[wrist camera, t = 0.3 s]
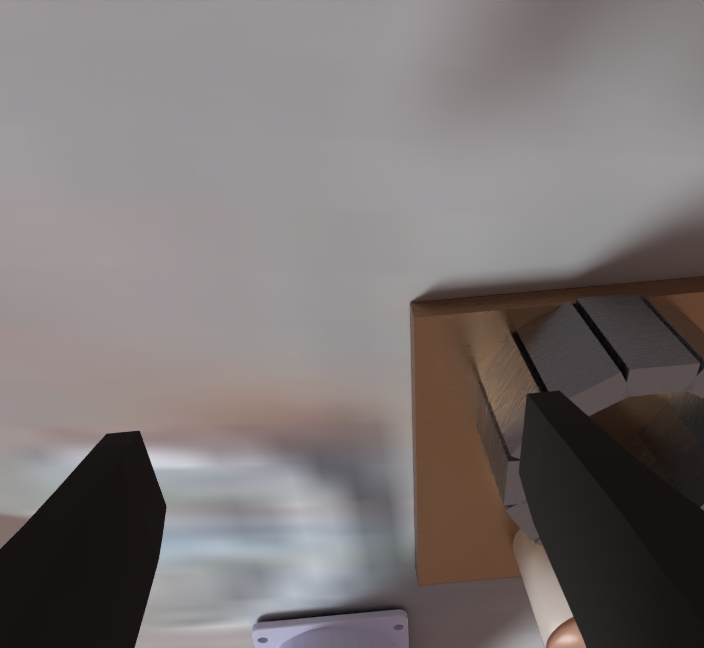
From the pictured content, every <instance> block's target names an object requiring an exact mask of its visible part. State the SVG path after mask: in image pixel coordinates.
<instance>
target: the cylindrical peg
mask: <svg viewBox="0 0 704 648" xmlns="http://www.w3.org/2000/svg"><path fill="white" fill-rule="evenodd" d="M513 552H514V555H515V558H516V561H517V564H518V567H519V570H520V573H521V576H522V579H523V582H524V585H525V588H526V591H527V594H528V597H529V600H530V603H531V606H532V609H533V612H534V615H535V618H536V621H537V624H538V627H539V630H540V633H541V636H542V639H543V643H544V646H545V648H586V646H585V643H584V640H583V638H582V635H581V633H580V631H579V628H578V626H577V624H576V621H575V619H574V617H573V614H572V612H571V610H570V608H569V605H568V603H567V601H566V598H565V596H564V594H563V591H562V589H561V587H560V584H559V582H558V580H557V577H556V575H555V573H554V570H553V568H552V566H551V564H550V561H549V559H548V556H547V554H546V552H545V549H544V547H543V546H540V545H537V544H535V542H534V540H532V541H530V540H529V539H528V537H527V536H526V535H525V534H524V533H523V531H522V530H521V529H519V530H518V532H517V533H516V535H515V537H514V540H513Z"/></svg>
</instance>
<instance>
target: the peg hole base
mask: <svg viewBox="0 0 704 648" xmlns="http://www.w3.org/2000/svg"><path fill="white" fill-rule="evenodd" d="M410 328H411V378H412V428H413V477H414V527H415V568H416V574H417V581H418V586H422V585H433V584H444V583H454V582H465V581H476V580H486V579H497V578H508V577H518V576H521V573H520V570H519V567H518V564H517V561H516V558H515V555H514V552H513V540H514V537H515V535H516V533H517V532H518V530H519V529H521V530H522V531H523V533H524V534H525V535H526V536H527V537H528V539H529V540H530V541H532V540H534V542H535V544H537V545H540V546H543V545H542V542H541V540H540V538H539V535H538V533H537V530H536V528H535V526H534V523H533V520H532V517H531V514H530V510H529V507H528V504H527V500H526V497H525V493H524V490H523V486H522V483H521V479H520V476H519V464H520V454H521V444H522V434H523V425H524V415H525V405H526V395H527V394H529V393H539V392H549V391H560V392H562V393H563V394H564V395H565V396H566V397H567V398H568V399H570V400H571V401H572V402H573V403H574V404H575V405H576V406H577V407H579V408H580V409H581V410H582V411H583V412H584V413H585V414H586V415H588V416H589V417H590V418H591V419H592V420H593V421H594V422H595V423H596V424H598V425H599V426H600V427H601V428H602V429H603V430H604V431H606V432H607V433H608V434H609V435H610V436H611V437H612V438H614V439H615V440H616V441H617V442H618V443H619V444H620V445H622V446H623V447H624V448H625V449H626V450H627V451H629V452H630V453H631V454H632V455H633V456H635V457H636V458H637V459H638V460H639V461H641V462H642V463H643V464H644V465H646V466H647V467H648V468H649V469H650V470H652V471H653V472H654V473H655V474H656V475H658V476H659V477H660V478H661V479H663V480H664V481H665V482H667V483H668V484H669V485H670V486H672V487H673V488H674V489H676V490H677V491H678V492H680V493H681V494H682V495H684V496H685V497H686V498H688V499H689V500H690V501H692V502H693V503H694V504H696V505H697V506H698V507H700V508H701V509H702V510H704V277H695V278H684V279H672V280H661V281H650V282H638V283H627V284H616V285H605V286H593V287H582V288H571V289H560V290H548V291H537V292H526V293H515V294H503V295H492V296H481V297H470V298H458V299H447V300H436V301H425V302H413V303H410Z"/></svg>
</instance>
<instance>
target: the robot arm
mask: <svg viewBox="0 0 704 648" xmlns="http://www.w3.org/2000/svg"><path fill="white" fill-rule="evenodd" d="M519 476H520V479H521V483H522V486H523V490H524V493H525V497H526V500H527V504H528V507H529V510H530V514H531V517H532V520H533V523H534V526H535V528H536V530H537V533H538V535H539V538H540V540H541V542H542V545H543V547H544V549H545V552H546V554H547V556H548V559H549V561H550V564H551V566H552V568H553V570H554V573H555V575H556V577H557V580H558V582H559V584H560V587H561V589H562V591H563V594H564V596H565V598H566V601H567V603H568V605H569V608H570V610H571V612H572V614H573V617H574V619H575V621H576V624H577V626H578V628H579V631H580V633H581V635H582V638H583V640H584V643H585V646H586V648H704V510H702V509H701V508H700V507H698V506H697V505H696V504H694V503H693V502H692V501H690V500H689V499H688V498H686V497H685V496H684V495H682V494H681V493H680V492H678V491H677V490H676V489H674V488H673V487H672V486H670V485H669V484H668V483H667V482H665V481H664V480H663V479H661V478H660V477H659V476H658V475H656V474H655V473H654V472H653V471H652V470H650V469H649V468H648V467H647V466H646V465H644V464H643V463H642V462H641V461H639V460H638V459H637V458H636V457H635V456H633V455H632V454H631V453H630V452H629V451H627V450H626V449H625V448H624V447H623V446H622V445H620V444H619V443H618V442H617V441H616V440H615V439H614V438H612V437H611V436H610V435H609V434H608V433H607V432H606V431H604V430H603V429H602V428H601V427H600V426H599V425H598V424H596V423H595V422H594V421H593V420H592V419H591V418H590V417H589V416H588V415H586V414H585V413H584V412H583V411H582V410H581V409H580V408H579V407H577V406H576V405H575V404H574V403H573V402H572V401H571V400H570V399H568V398H567V397H566V396H565V395H564V394H563V393H562V392H560V391H549V392H539V393H529V394H527V395H526V405H525V415H524V425H523V434H522V444H521V454H520V464H519ZM165 514H166V504H165V501H164V498H163V495H162V492H161V490H160V487H159V484H158V481H157V478H156V476H155V473H154V470H153V467H152V464H151V462H150V459H149V456H148V453H147V450H146V447H145V445H144V442H143V439H142V436H141V433H140V431H131V432H121V433H110V434H106V435H105V436H104V437H103V438H102V440H101V441H100V442H99V443H98V444H97V445H96V446H95V447H94V448H93V449H92V450H91V452H90V453H89V454H88V455H87V456H86V457H85V458H84V459H83V461H82V462H81V463H80V464H79V465H78V466H77V467H76V469H75V470H74V471H73V472H72V473H71V474H70V475H69V476H68V478H67V479H66V480H65V481H64V482H63V483H62V484H61V485H60V486H59V488H58V489H57V490H56V491H55V492H54V493H53V494H52V495H51V496H50V497H49V499H48V500H47V501H46V502H45V503H44V504H43V505H42V506H41V507H40V508H39V509H38V511H37V512H36V513H35V514H34V515H33V516H32V517H31V518H30V519H29V520H28V521H27V523H26V524H25V525H24V526H23V527H22V528H21V529H20V530H19V531H18V532H17V533H16V534H15V535H14V536H13V537H12V538H11V539H10V540H9V541H8V542H7V543H6V544H5V545H4V546H3V547H2V548H1V549H0V648H134V647H135V644H136V640H137V637H138V633H139V630H140V626H141V623H142V619H143V615H144V612H145V608H146V605H147V601H148V597H149V594H150V590H151V586H152V583H153V579H154V575H155V572H156V568H157V564H158V560H159V555H160V549H161V542H162V536H163V529H164V521H165ZM252 638H253V641H254V645H255V648H409V636H408V617H407V613H406V612H405V611H404V610H386V611H376V612H365V613H354V614H344V615H333V616H322V617H312V618H301V619H291V620H280V621H269V622H260V623H256V624H255V625H254V626H253V627H252Z"/></svg>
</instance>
